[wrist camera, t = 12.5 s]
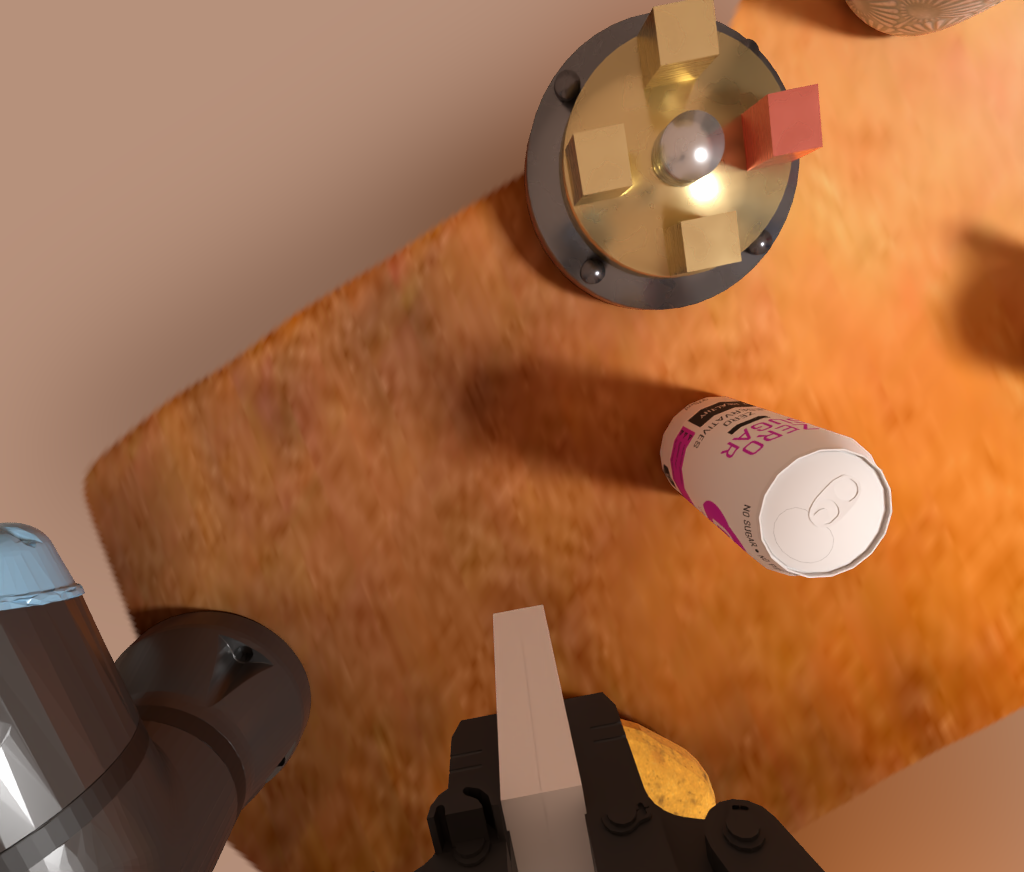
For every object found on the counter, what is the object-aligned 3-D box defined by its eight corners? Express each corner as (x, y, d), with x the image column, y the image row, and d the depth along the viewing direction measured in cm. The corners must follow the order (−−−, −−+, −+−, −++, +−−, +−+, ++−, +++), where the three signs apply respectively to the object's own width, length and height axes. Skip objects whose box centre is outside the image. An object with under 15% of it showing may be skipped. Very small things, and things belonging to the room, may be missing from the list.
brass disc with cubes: (781, 256, 38) (833, 245, 33) (578, 298, 38) (595, 294, 32) (760, 25, 35) (813, -30, 30) (540, 69, 35) (551, 23, 29)
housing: (546, 329, 41) (561, 332, 34) (503, 55, 37) (508, -10, 30) (788, 286, 41) (855, 280, 34) (770, 9, 37) (841, -65, 30)
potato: (663, 810, 50) (691, 886, 44) (533, 747, 48) (541, 815, 42) (713, 745, 49) (749, 811, 43) (581, 676, 47) (598, 735, 40)
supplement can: (713, 518, 45) (826, 616, 30) (635, 456, 43) (714, 528, 29) (783, 439, 44) (936, 501, 29) (705, 373, 42) (825, 403, 28)
